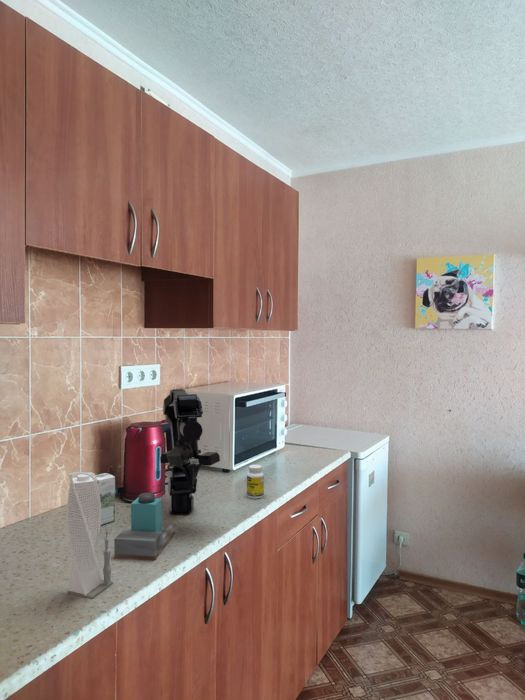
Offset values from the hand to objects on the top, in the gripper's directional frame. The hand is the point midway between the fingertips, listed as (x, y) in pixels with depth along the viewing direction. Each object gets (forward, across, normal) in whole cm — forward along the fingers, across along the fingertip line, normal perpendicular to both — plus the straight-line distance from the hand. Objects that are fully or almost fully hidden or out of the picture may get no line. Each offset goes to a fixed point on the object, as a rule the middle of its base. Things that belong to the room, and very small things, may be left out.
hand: (191, 485), depth 150 cm
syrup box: (+10, -27, -11) cm, 31 cm away
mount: (+11, -3, -18) cm, 22 cm away
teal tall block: (+10, -3, -18) cm, 21 cm away
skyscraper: (+11, 0, -43) cm, 45 cm away
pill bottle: (+14, +4, +32) cm, 35 cm away
